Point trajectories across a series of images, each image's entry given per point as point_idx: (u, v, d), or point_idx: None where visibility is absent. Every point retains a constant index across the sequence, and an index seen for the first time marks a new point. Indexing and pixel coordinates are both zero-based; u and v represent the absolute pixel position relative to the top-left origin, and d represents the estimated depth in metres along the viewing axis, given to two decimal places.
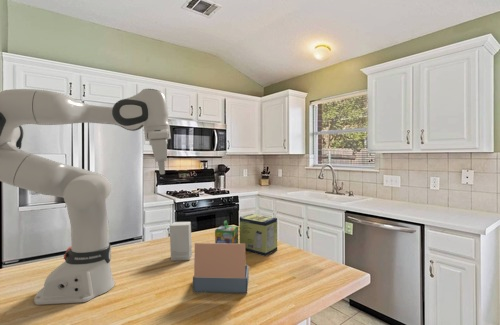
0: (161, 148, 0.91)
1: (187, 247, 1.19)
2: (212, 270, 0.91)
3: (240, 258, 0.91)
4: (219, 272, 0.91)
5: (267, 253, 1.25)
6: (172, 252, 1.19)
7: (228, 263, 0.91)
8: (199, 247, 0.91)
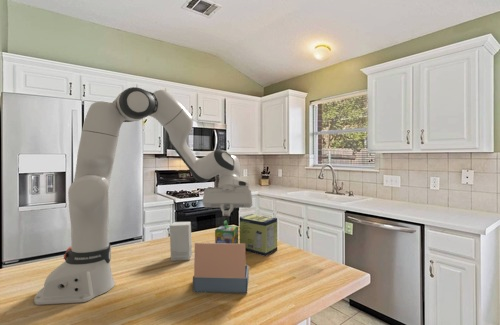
0: None
1: (187, 247, 1.19)
2: (212, 270, 0.91)
3: (240, 258, 0.91)
4: (219, 272, 0.91)
5: (267, 253, 1.25)
6: (172, 252, 1.19)
7: (228, 263, 0.91)
8: (199, 247, 0.91)
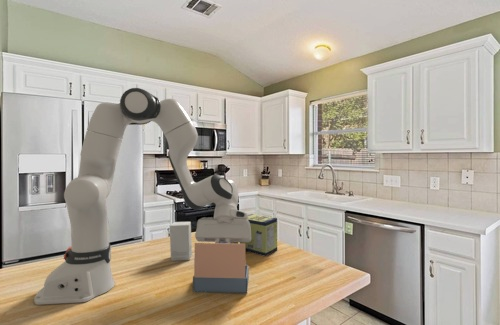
0: None
1: (187, 247, 1.19)
2: (212, 270, 0.91)
3: (240, 258, 0.91)
4: (219, 272, 0.91)
5: (267, 253, 1.25)
6: (172, 252, 1.19)
7: (228, 263, 0.91)
8: (199, 247, 0.91)
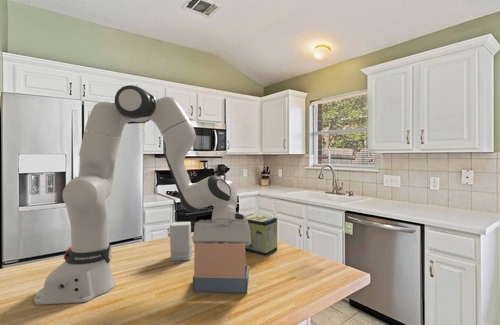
0: None
1: (187, 247, 1.19)
2: (211, 271, 0.91)
3: (239, 258, 0.91)
4: (219, 272, 0.91)
5: (267, 253, 1.25)
6: (172, 252, 1.19)
7: (228, 263, 0.91)
8: (199, 247, 0.91)
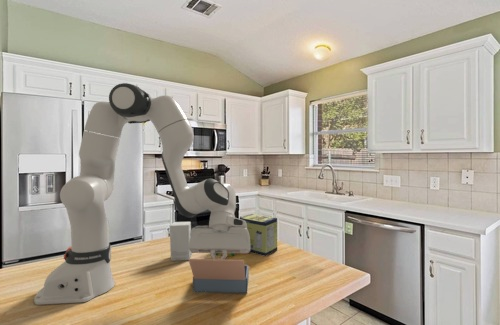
0: None
1: (187, 247, 1.19)
2: (211, 275, 0.89)
3: (238, 269, 0.86)
4: (218, 276, 0.89)
5: (267, 253, 1.25)
6: (172, 252, 1.19)
7: (227, 272, 0.88)
8: (194, 262, 0.85)
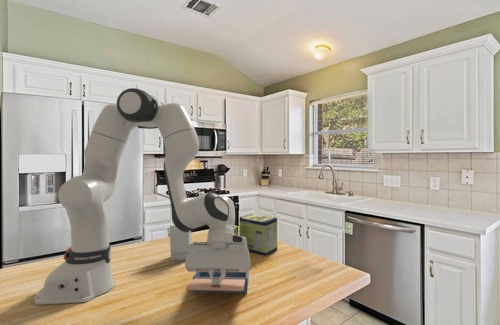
0: None
1: (187, 247, 1.19)
2: None
3: None
4: None
5: (267, 253, 1.25)
6: (172, 252, 1.19)
7: None
8: None
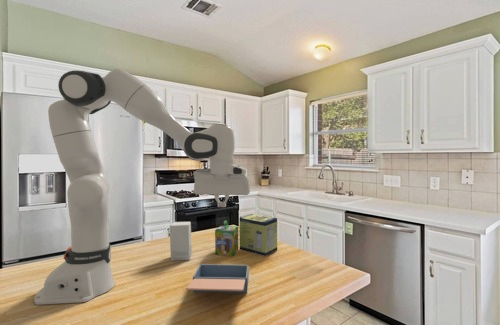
0: None
1: (187, 247, 1.19)
2: None
3: None
4: None
5: (267, 253, 1.25)
6: (172, 252, 1.19)
7: None
8: None
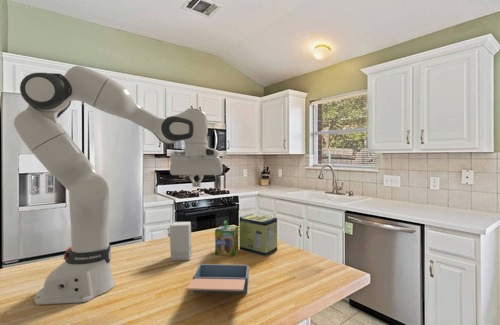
0: (221, 164, 1.08)
1: (187, 247, 1.19)
2: None
3: None
4: None
5: (267, 253, 1.25)
6: (172, 252, 1.19)
7: None
8: None
